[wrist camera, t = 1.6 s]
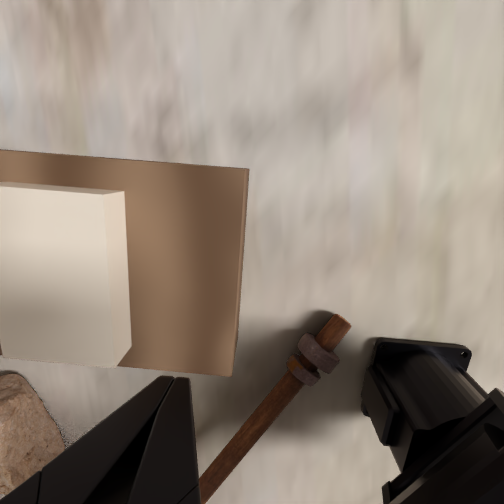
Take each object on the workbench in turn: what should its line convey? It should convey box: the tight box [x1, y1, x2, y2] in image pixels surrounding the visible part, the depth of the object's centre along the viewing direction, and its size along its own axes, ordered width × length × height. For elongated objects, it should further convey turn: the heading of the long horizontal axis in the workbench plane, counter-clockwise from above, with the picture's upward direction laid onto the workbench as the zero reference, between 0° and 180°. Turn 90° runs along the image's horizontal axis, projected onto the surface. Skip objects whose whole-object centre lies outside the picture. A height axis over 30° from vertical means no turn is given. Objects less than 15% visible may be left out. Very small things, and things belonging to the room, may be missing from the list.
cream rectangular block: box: [0, 182, 132, 368], centre depth 15 cm, size 6×9×2 cm, turn 176°
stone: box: [0, 374, 65, 495], centre depth 23 cm, size 9×11×5 cm
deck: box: [0, 149, 249, 377], centre depth 18 cm, size 16×12×4 cm
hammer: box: [199, 314, 351, 504], centre depth 22 cm, size 7×33×10 cm, turn 143°
